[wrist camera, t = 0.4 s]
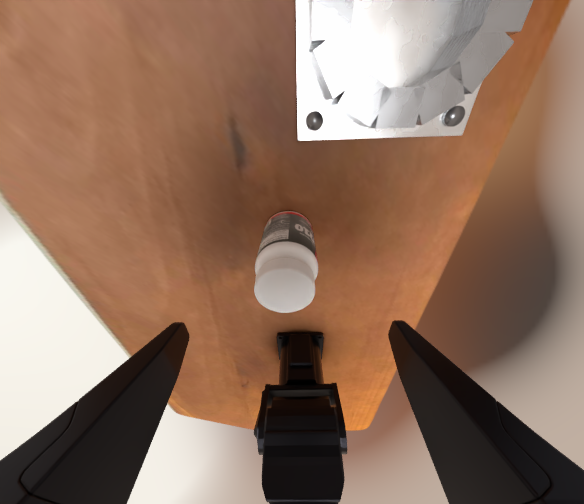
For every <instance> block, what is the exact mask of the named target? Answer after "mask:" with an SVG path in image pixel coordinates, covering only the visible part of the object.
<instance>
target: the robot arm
mask: <svg viewBox="0 0 584 504" xmlns="http://www.w3.org/2000/svg"><path fill="white" fill-rule="evenodd" d="M388 335H389V341H390V344H391V348H392V351H393V355H394V359H395V362H396V366H397V369H398V372H399V376H400V379H401V381H402V384H403V386H404V389H405V392H406V394H407V397H408V399H409V402H410V404H411V407H412V410H413V412H414V415H415V417H416V420H417V422H418V425H419V427H420V430H421V432H422V435H423V438H424V440H425V443H426V445H427V448H428V451H429V453H430V456H431V458H432V461H433V463H434V466H435V469H436V471H437V474H438V476H439V479H440V481H441V484H442V486H443V489H444V492H445V494H446V497H447V499H448V502H449V504H584V470H583V469H582V468H580V467H579V466H578V465H576V464H575V463H574V462H572V461H571V460H570V459H569V458H567V457H566V456H565V455H563V454H562V453H561V452H559V451H558V450H557V449H556V448H554V447H553V446H552V445H551V444H549V443H548V442H547V441H546V440H544V439H543V438H542V437H540V436H539V435H538V434H536V433H535V432H534V431H533V430H532V429H530V428H529V427H528V426H527V425H526V424H524V423H523V422H522V421H521V420H519V419H518V418H517V417H516V416H515V415H514V414H512V413H511V412H510V411H509V410H508V409H506V408H505V407H504V406H503V405H502V404H501V403H499V402H498V401H496V400H495V398H493V397H492V396H491V395H490V394H489V393H488V392H486V391H485V390H484V389H483V388H482V387H481V386H479V385H478V384H477V383H476V382H475V381H473V380H472V379H471V378H470V377H469V376H468V375H467V374H465V373H464V372H463V371H462V370H461V369H460V368H458V367H457V366H456V365H455V364H454V363H452V362H451V361H450V360H449V359H448V358H447V357H446V356H444V355H443V354H442V353H441V352H440V351H438V350H437V349H436V348H435V347H434V346H432V345H431V344H430V343H429V342H428V341H427V340H425V339H424V338H423V337H422V336H421V335H420V334H419V333H417V332H416V331H415V330H414V329H413V328H412V327H410V326H409V325H408V324H407V323H406V322H404V321H401V320H397V321H393V322H392V324H391V327H390V330H389V334H388ZM323 339H324V336H323V333H279V334H277V344H278V352H279V360H280V374H279V385H270V384H266V386H265V390H264V391H262V399H261V406H260V411H259V414H258V418H257V421H256V425H255V428H254V435H255V437H256V438H257V443H258V452H259V455H263V464H262V487H263V491H264V494H265V498H266V501H267V502H269V503H270V504H338V502H340V499H341V495H342V491H343V485H344V470H343V461H342V454H347V439H346V430H345V423H344V417H343V413H342V408H341V403H340V398H339V394H338V389H337V384H336V383H332V384H324V381H323V372H322V363H321V360H322V350H323ZM188 341H189V333H188V330H187V328H186V326H185V324H184V323H182V322H175V323H172V324H171V325H170V326H169V327H167V328H166V329H165V330H164V331H162V332H161V333H160V334H159V335H157V336H156V337H155V338H154V339H153V340H151V341H150V342H149V343H148V344H146V345H145V346H144V347H143V348H142V349H140V350H139V351H138V352H137V353H135V354H134V355H133V356H132V357H131V358H129V359H128V360H127V361H126V362H125V363H123V364H122V365H121V366H120V367H118V368H117V369H116V370H115V371H114V372H112V373H111V374H110V375H109V376H107V377H106V378H105V379H104V380H103V381H101V382H100V383H99V384H97V386H95V387H94V388H93V389H92V390H90V391H89V392H88V393H86V394H85V395H84V396H83V397H82V398H80V399H79V401H78V402H75V403H74V404H73V405H72V406H71V407H69V408H68V409H67V410H66V411H64V412H63V413H62V414H61V415H59V416H58V417H57V418H56V419H54V420H53V421H52V422H51V423H49V424H48V425H47V426H46V427H44V428H43V429H42V430H40V431H39V432H38V433H36V434H35V435H34V436H33V437H31V438H30V439H29V440H27V441H26V442H25V443H23V444H22V445H21V446H19V447H18V448H17V449H15V450H14V451H13V452H11V453H10V454H8V455H7V456H6V457H5V458H3V459H2V460H0V504H127V501H128V499H129V497H130V494H131V492H132V489H133V487H134V484H135V481H136V479H137V477H138V474H139V471H140V469H141V467H142V464H143V462H144V459H145V457H146V454H147V452H148V449H149V447H150V444H151V442H152V440H153V437H154V435H155V432H156V430H157V427H158V425H159V422H160V420H161V417H162V415H163V412H164V410H165V407H166V405H167V403H168V400H169V398H170V395H171V393H172V390H173V388H174V385H175V383H176V380H177V378H178V375H179V372H180V369H181V365H182V362H183V358H184V355H185V352H186V348H187V345H188Z"/></svg>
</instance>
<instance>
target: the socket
mask: <svg viewBox="0 0 584 504" xmlns="http://www.w3.org/2000/svg"><path fill="white" fill-rule="evenodd" d="M532 2H533V0H296V55H297V133H298V141H303V140H334V139H365V138H396V137H427V136H458V135H462V134H463V131H464V129H465V126H466V123H467V121H468V118H469V115H470V113H471V110H472V107H473V104H474V102H475V99H476V96H477V94H478V91H479V88H480V86H481V83H482V81H483V80H484V79H485V77H486V76H487V75H488V74H489V72H490V71H491V70H492V69H493V67H494V66H495V65H496V64H497V63H498V61H499V60H500V59H501V58H502V56H503V55H504V54H505V53H506V51H507V50H508V49H509V48H510V47H511V45H512V44H513V43H514V41H513V40H512V39H511V38H510V37H509V35H512V34H515V33H517V32H520V31H521V29H522V27H523V24H524V22H525V19H526V17H527V14H528V12H529V9H530V7H531V5H532Z"/></svg>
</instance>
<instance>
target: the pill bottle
mask: <svg viewBox="0 0 584 504" xmlns="http://www.w3.org/2000/svg"><path fill="white" fill-rule="evenodd" d="M255 273H256V281H255V286H254V293H255V296H256V298H257V300H258V302H259V303H260V304H261V305H263V306H264V307H265V308H267V309H269V310H272V311H275V312H280V313H290V312H295V311H298V310H301V309H303V308H305V307H306V306H307V305H309V304H310V303H311V301H312V300H313V298H314V295H315V279H316V277H317V274H318V260H317V254H316V248H315V242H314V235H313V229H312V226H311V224H310V222H309V221H308V219H307V218H306V217H304V216H303V215H301V214H300V213H297V212H293V211H284V212H280V213H277V214H275V215H274V216H272V217H271V218H270V219H269V220H268V222H267V224H266V226H265V229H264V232H263V236H262V240H261V244H260V247H259V251H258V255H257V258H256V263H255Z"/></svg>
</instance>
